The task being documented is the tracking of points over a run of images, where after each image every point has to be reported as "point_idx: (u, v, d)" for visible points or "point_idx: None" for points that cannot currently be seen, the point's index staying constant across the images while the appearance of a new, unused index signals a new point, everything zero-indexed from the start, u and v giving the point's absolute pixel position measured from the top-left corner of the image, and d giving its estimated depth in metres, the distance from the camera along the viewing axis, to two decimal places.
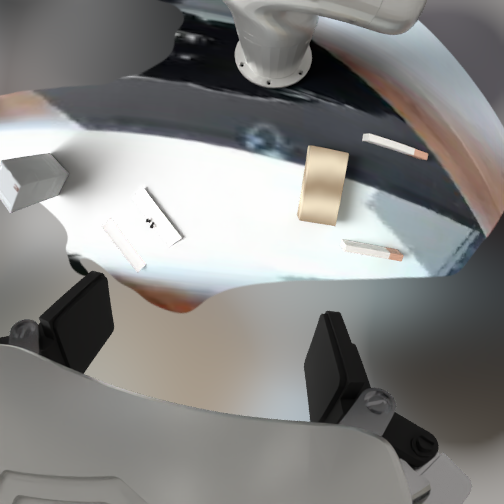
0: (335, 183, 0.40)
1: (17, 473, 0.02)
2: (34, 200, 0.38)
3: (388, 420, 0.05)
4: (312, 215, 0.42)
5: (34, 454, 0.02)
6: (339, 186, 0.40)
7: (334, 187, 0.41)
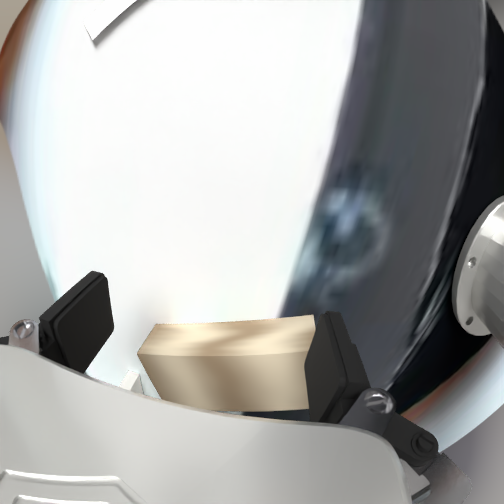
0: (244, 401, 0.17)
1: (17, 473, 0.02)
2: None
3: (388, 420, 0.05)
4: (159, 374, 0.17)
5: (34, 454, 0.02)
6: (241, 407, 0.18)
7: (234, 400, 0.17)
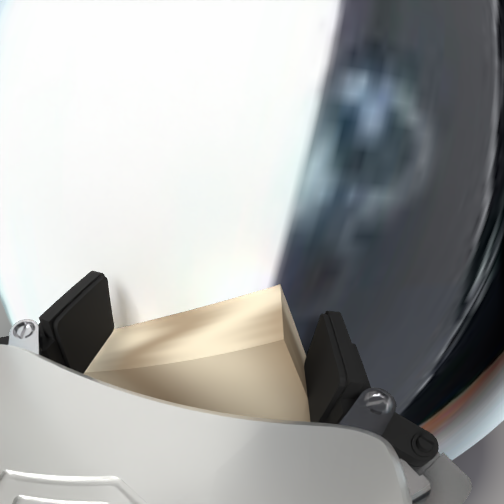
0: None
1: (17, 473, 0.02)
2: None
3: (388, 420, 0.05)
4: None
5: (34, 454, 0.02)
6: None
7: None
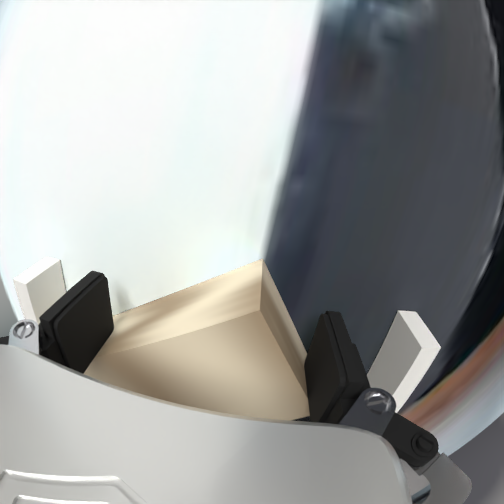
0: None
1: (17, 473, 0.02)
2: None
3: (388, 420, 0.05)
4: None
5: (34, 454, 0.02)
6: None
7: None
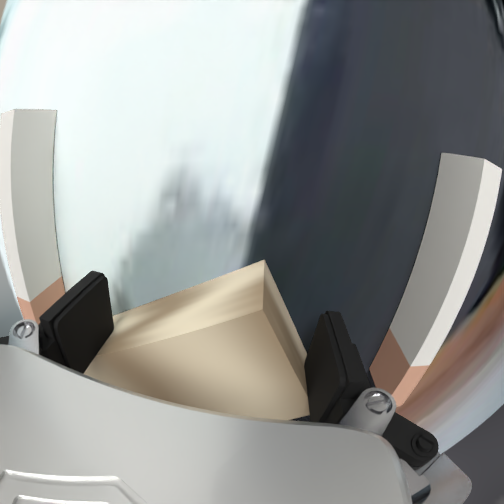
0: None
1: (17, 473, 0.02)
2: None
3: (388, 420, 0.05)
4: None
5: (34, 454, 0.02)
6: None
7: None
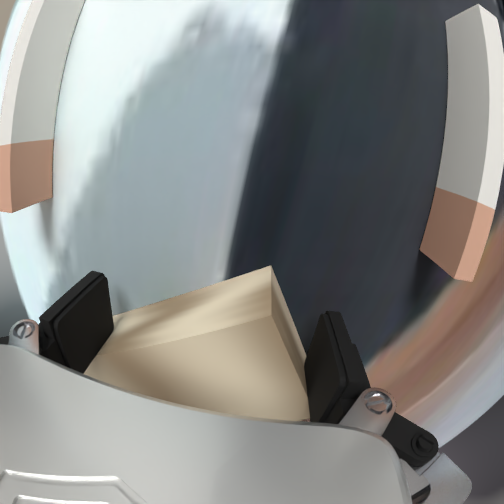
0: None
1: (17, 473, 0.02)
2: None
3: (388, 420, 0.05)
4: None
5: (34, 454, 0.02)
6: None
7: None
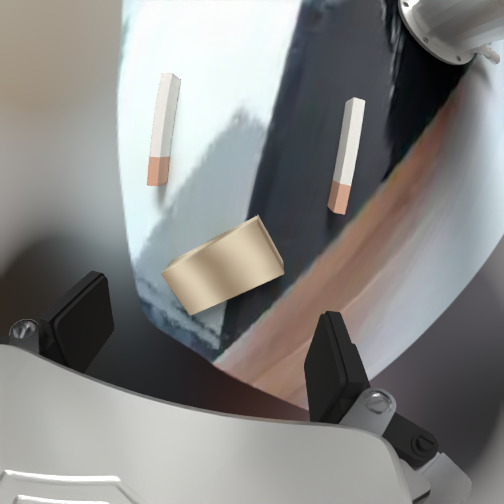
0: (234, 284, 0.29)
1: (17, 473, 0.02)
2: None
3: (388, 420, 0.05)
4: (178, 284, 0.29)
5: (34, 454, 0.02)
6: (235, 291, 0.29)
7: (228, 285, 0.29)
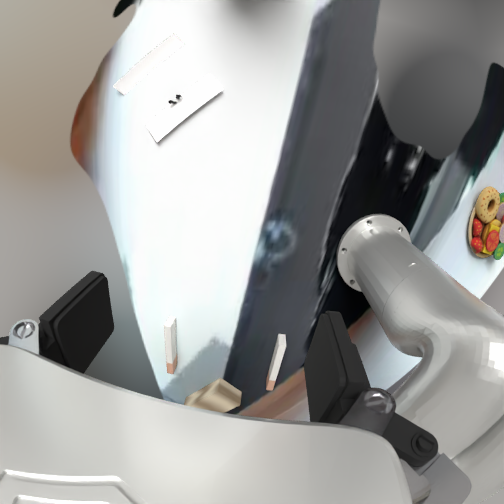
0: (218, 410, 0.50)
1: (17, 473, 0.02)
2: None
3: (388, 420, 0.05)
4: None
5: (34, 454, 0.02)
6: None
7: (216, 411, 0.50)
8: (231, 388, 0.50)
